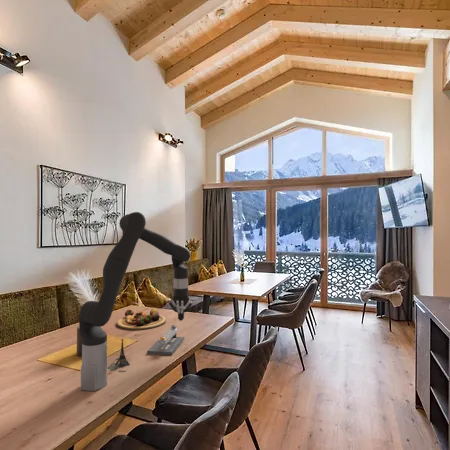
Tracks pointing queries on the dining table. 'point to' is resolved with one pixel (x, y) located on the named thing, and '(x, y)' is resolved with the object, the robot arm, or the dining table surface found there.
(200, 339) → the dining table surface
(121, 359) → the eiffel tower figurine
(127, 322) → the wooden plate with food
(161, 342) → the swing arm
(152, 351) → the label board
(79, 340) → the pillar candle
